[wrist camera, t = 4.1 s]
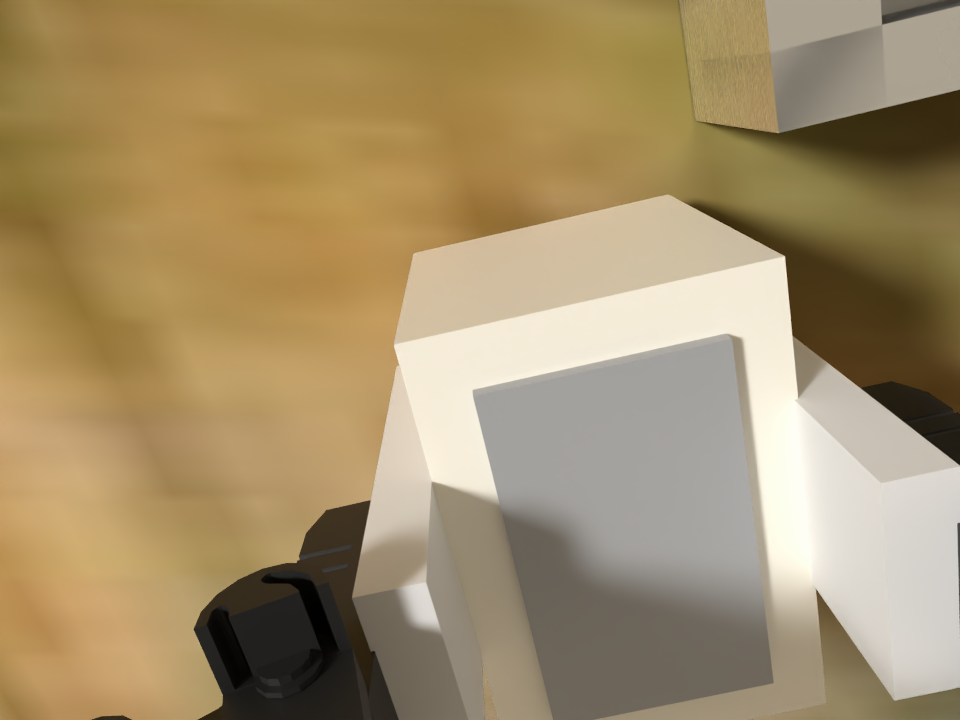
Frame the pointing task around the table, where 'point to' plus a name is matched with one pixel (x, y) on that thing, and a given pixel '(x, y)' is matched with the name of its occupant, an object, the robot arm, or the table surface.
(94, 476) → the table surface
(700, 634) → the white block
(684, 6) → the tray
